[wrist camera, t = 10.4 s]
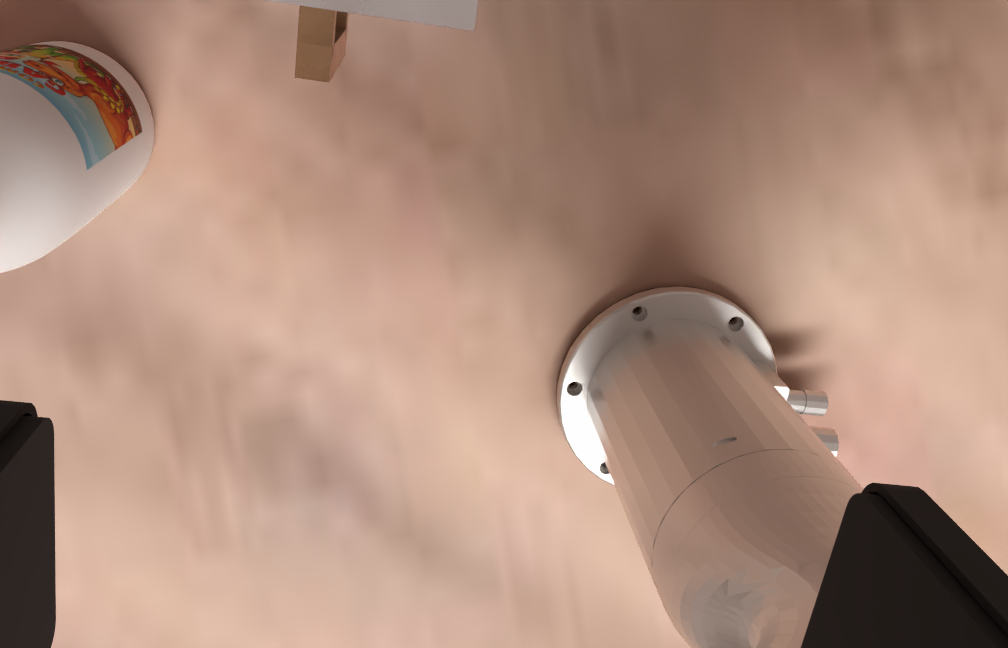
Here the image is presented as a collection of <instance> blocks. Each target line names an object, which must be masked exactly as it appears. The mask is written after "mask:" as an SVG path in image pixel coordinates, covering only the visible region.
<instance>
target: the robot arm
mask: <svg viewBox="0 0 1008 648" xmlns="http://www.w3.org/2000/svg"><path fill="white" fill-rule="evenodd" d="M638 306H640V309H639V310H638V311H637V312H633V309H634V308H636V307H638ZM733 317H735V318H734V320H733V321H732V322H729V321H730V319H732V318H733ZM571 382H576V383H575V384H574V385H572V386H570V385H569V384H570V383H571ZM827 407H828V397H827V395H826V393H825V392H823V391H814V390H803V389H801V390H791V389H789V388H788V387H787V385H786V384H785V383H784V382H783V381H782V380H781V379H780V378H779V377H778V375H777V364H776V360H775V357H774V354H773V350H772V347H771V345H770V343H769V341H768V340H767V338H766V336H765V334H764V333H763V331H762V329H761V328H760V327H759V326H758V325H757V324H756V322H755V321H754V320H753V319H752V318H751V317H750V316H749V315H748V314H747V313H746V312H744V311H743V310H742V309H741V308H740V307H739V306H738V305H736V304H735V303H733V302H731V301H729V300H728V299H726V298H724V297H722V296H720V295H718V294H715V293H712V292H709V291H705V290H702V289H698V288H689V287H680V286H677V287H664V288H656V289H652V290H648V291H644V292H640V293H636V294H634V295H632V296H630V297H628V298H625V299H623V300H621V301H619V302H617V303H615V304H614V305H612V306H611V307H609V308H608V309H606V310H605V311H603V312H602V313H600V314H599V315H598V316H597V317H596V318H595V319H594V320H593V321H592V322H591V323H590V324H589V325H587V326H586V327H585V328H584V329H583V330H582V332H581V333H580V335H579V336H578V338H577V339H576V340H575V342H574V343H573V345H572V346H571V347H570V350H569V352H568V354H567V356H566V358H565V360H564V363H563V365H562V368H561V372H560V376H559V380H558V385H557V409H558V414H559V420H560V424H561V427H562V429H563V432H564V435H565V438H566V440H567V442H568V444H569V446H570V447H571V449H572V451H573V453H574V455H575V456H576V457H577V458H578V459H579V460H580V461H581V462H582V464H583V465H584V466H585V467H586V468H587V469H588V470H589V471H591V472H592V473H593V474H595V475H596V476H597V477H599V478H600V479H602V480H604V481H606V482H608V483H610V484H612V485H614V486H615V488H616V490H617V493H618V495H619V498H620V500H621V503H622V505H623V508H624V510H625V512H626V515H627V517H628V520H629V522H630V525H631V527H632V530H633V532H634V535H635V537H636V539H637V542H638V544H639V547H640V549H641V552H642V554H643V557H644V559H645V562H646V564H647V566H648V569H649V571H650V574H651V576H652V579H653V581H654V584H655V586H656V588H657V591H658V594H659V596H660V598H661V601H662V603H663V606H664V608H665V610H666V612H667V614H668V616H669V618H670V620H671V621H672V623H673V625H674V627H675V628H676V629H677V631H678V632H679V634H680V635H681V636H682V637H683V638H684V640H685V641H686V642H687V643H688V644H689V645H690V646H691V647H692V648H1008V576H1007V575H1006V574H1005V572H1004V571H1003V570H1002V569H1001V568H1000V567H999V566H998V565H997V564H996V563H995V562H994V561H993V560H992V559H991V558H990V557H989V556H988V555H987V554H986V553H985V552H984V551H983V550H982V549H981V548H980V547H979V546H978V545H977V544H976V543H975V542H974V541H973V540H972V539H971V538H970V537H969V536H968V535H967V534H966V533H965V532H964V531H963V530H962V529H961V528H960V527H959V526H958V525H957V524H956V523H955V522H954V521H953V520H952V519H951V518H950V517H949V516H948V515H947V514H946V513H945V512H944V511H943V510H942V509H941V508H940V507H939V506H938V505H937V504H936V503H935V502H934V501H933V500H932V499H931V498H930V497H929V496H928V495H927V494H926V493H925V492H924V491H923V490H922V489H920V488H919V487H911V486H901V485H890V484H880V483H871V484H869V485H867V486H866V487H865V488H864V489H863V488H862V487H861V485H860V484H859V483H858V482H857V481H856V480H855V479H854V477H853V476H852V475H851V474H850V473H849V472H848V470H847V469H846V468H845V467H844V466H843V465H842V464H841V462H840V461H839V460H838V459H837V458H836V455H837V453H838V445H839V442H838V436H837V434H836V432H835V430H833V429H831V428H823V427H811V426H808V425H807V424H806V422H805V421H804V420H803V419H802V418H801V417H800V416H799V414H798V413H800V414H805V415H816V416H823V415H824V414H825V413H826V411H827ZM603 462H605V463H603ZM55 622H56V598H55V494H54V428H53V423H52V421H51V419H50V418H43V417H37V412H36V409H35V407H34V405H33V404H32V403H24V402H13V401H3V400H0V648H51V645H52V641H53V637H54V631H55Z"/></svg>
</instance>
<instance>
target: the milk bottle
mask: <svg viewBox="0 0 1008 648" xmlns="http://www.w3.org/2000/svg"><path fill="white" fill-rule="evenodd" d="M153 145H154V123H153V117H152V113H151V110H150V107H149V104H148V101H147V99H146V97H145V95H144V93H143V91H142V90H141V88H140V87H139V85H138V84H137V82H136V81H135V80H134V78H133V77H132V76H131V75H130V74H129V73H128V72H127V71H126V70H125V69H124V68H123V67H122V66H121V65H120V64H119V63H117V62H116V61H115V60H113V59H112V58H110V57H109V56H107V55H106V54H104V53H102V52H100V51H98V50H96V49H93V48H91V47H88V46H85V45H82V44H78V43H73V42H65V41H50V42H41V43H35V44H30V45H25V46H21V47H16V48H12V49H7V50H3V51H0V273H2V272H6V271H10V270H13V269H17V268H19V267H22V266H24V265H26V264H29V263H31V262H33V261H36V260H37V259H39V258H41V257H43V256H45V255H46V254H48V253H49V252H50V251H52V250H53V249H55V248H56V247H58V246H59V245H61V244H62V243H64V242H65V241H66V240H68V239H69V238H70V237H72V236H73V235H74V234H75V233H77V232H78V231H79V230H80V229H82V228H83V227H84V226H85V225H87V224H88V223H89V222H90V221H91V220H93V219H94V218H95V217H96V216H97V215H99V214H100V213H101V212H102V211H103V210H105V209H106V208H107V207H108V206H109V205H111V204H112V203H113V202H114V201H115V200H116V199H118V198H119V197H120V196H121V195H122V194H123V193H125V192H126V191H127V190H128V189H129V188H130V187H131V186H132V185H133V184H134V183H135V182H136V181H137V180H138V179H139V177H140V176H141V175H142V173H143V172H144V170H145V168H146V167H147V165H148V162H149V160H150V157H151V154H152V151H153Z"/></svg>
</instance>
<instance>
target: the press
mask: <svg viewBox="0 0 1008 648" xmlns="http://www.w3.org/2000/svg"><path fill="white" fill-rule="evenodd" d="M267 1H274V2H281V3H287V4H294V5H300V9H299V24H298V39H297V53H296V68H295V78H302V79H309V80H316V81H324V82H330V80H331V79H332V77H333V75H334V73H335V72H336V70H337V68H338V67H339V65H340V63H341V61H342V60H343V58H344V56H345V49H346V38H347V26H348V14H349V13H354V14H361V15H368V16H375V17H381V18H388V19H395V20H402V21H408V22H415V23H422V24H428V25H435V26H442V27H449V28H455V29H462V30H469V31H474V30H475V23H476V15H477V7H478V0H267Z"/></svg>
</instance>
